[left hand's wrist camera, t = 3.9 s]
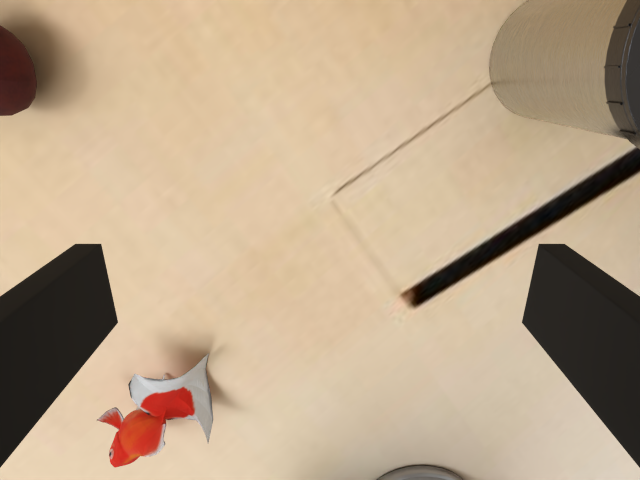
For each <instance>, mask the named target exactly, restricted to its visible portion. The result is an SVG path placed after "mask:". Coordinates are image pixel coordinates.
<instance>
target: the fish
mask: <svg viewBox="0 0 640 480" xmlns="http://www.w3.org/2000/svg"><path fill="white" fill-rule="evenodd" d="M208 355H209V353H208V354H207V355H206V356H205V357H204V358H203V359H202V360H201V361H200V362H199V363H198V364H197V365H196V366H195V367H193V368H192V369H191V370H190V371H188V372H187V373H185V374H184V375H182V376H181V377H179V378H174V379H169V380H164V377H165V375H164V376H163V379H150V378H144V377H141V376H139V375H137V374H134V376H133V378H132V379H131V381H130V383H129V390H130V395H131V398H132V399H133V401H134V403H135V404H136V405H137V406H138V407H137V409H136V410H135V411H133V412H131V413H130V414H128V415H127V416H126V417H125V419H124V418H123V416H122V414H121V413H120V411H119V410H118V409H117V408H112V409H110V410H108V411H106V412H105V413H104V414H103V415H102V416H101V417H100V418H99V419H98V421H101V422H105V423H108V424H110V425H112V426H114V427H116V428H117V429H119V431H118V432H117V433H116V435H115V438H114V441H113V443H112V445H111V448H110V451H109V457H110V463H111V464H112V465H113V466H114V467H119V466H123V465H127V464H130V463H132V462H134V461H135V460H136V459H137V458H138V457H140V456H145V457H148V456H153V455H156V454H157V453H158V452H160V451H161V449H162V448H163V447H164V445H165V442H164V432H165V427H166V420H165V419H167V420H171V419H179V418H186V419H191V420H196V421H197V422H198V423H199V424H200V425H201V427H202V429H203V430H204V432H205V435H206V438H207V442H209V437H210V432H211V428H212V423H213V413H212V402H211V394H210V389H209V384H208V379H207V373H206V365H207V359H208Z"/></svg>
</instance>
